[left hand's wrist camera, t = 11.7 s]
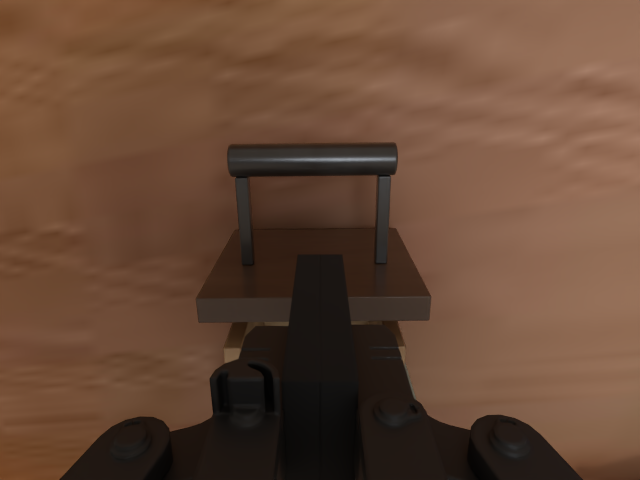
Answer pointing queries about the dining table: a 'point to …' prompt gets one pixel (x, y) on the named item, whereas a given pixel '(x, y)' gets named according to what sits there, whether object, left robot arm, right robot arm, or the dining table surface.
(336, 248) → the drawer
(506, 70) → the dining table surface
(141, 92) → the dining table surface
